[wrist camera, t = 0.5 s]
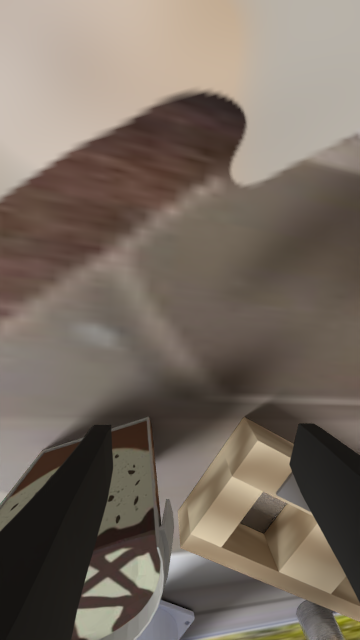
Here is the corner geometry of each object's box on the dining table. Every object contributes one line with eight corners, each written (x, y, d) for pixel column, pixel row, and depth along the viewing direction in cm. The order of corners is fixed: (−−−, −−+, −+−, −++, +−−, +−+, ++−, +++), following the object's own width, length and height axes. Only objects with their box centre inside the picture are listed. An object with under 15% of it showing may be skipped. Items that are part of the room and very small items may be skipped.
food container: (53, 513, 21) (-43, 724, 11) (24, 455, 20) (-113, 636, 10) (186, 470, 21) (208, 639, 11) (166, 411, 20) (170, 543, 10)
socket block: (364, 593, 26) (392, 637, 22) (178, 511, 22) (180, 550, 19) (429, 518, 24) (469, 554, 21) (244, 416, 20) (258, 442, 17)
